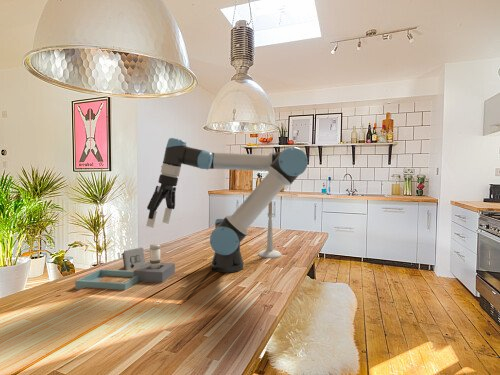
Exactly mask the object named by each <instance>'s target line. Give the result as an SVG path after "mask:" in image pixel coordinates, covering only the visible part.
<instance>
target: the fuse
mask: <svg viewBox="0 0 500 375" xmlns="http://www.w3.org/2000/svg"><path fill="white" fill-rule="evenodd" d="M149 262H150V269H160V263H161V244H160V243H153V244H150V245H149Z"/></svg>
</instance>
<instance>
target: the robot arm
mask: <svg viewBox="0 0 500 375" xmlns="http://www.w3.org/2000/svg"><path fill="white" fill-rule="evenodd" d="M166 143H167V144H166V147H165V151H164V155H163V161H162V164H161V170H160V175H159V177H158V181H157V182H158V183H159V184H160V185H156V186H155V190H154V192H153V193H152V196H151V199H150V201H149V202H148V205H147V206H146V208H147V210H148V211H149V213H148V217H147V221H146V227H149V228H153V229H154V226H155V222H156V217H157V213H158V211H157V210H158V208H159V206H160V205H161V203H162V202H163V200H164V199H165V203H166V204H165V205H166V207H165V209H164V214H163V217H162V223H163V224H169V223H170V219H171V214H172V210H175V207H176V190H177V188H176V187H177V185H178V182H179V178H178V177H179V176H180V172H181V167H182V165H185V166H190V167H193V168H198V169H201V170H207V171H208V170H229V171H230V170H232V171H236V170H237V171H257V172H261V171H262V172H268V173H267V174H266V175H265V177H263V179H262V180H261V181H260V183H258V185H257V186H255V188H254V189H253V190H252V191H251V193H250V194H249V195H248V196H247V197H246V198H245V199H244V201H243V202H242V203H241V204H240V205H239V206H238V208H237V209H236V210H235V211H234V212H233V214H231V215H226V216H225V217H224V218H216V219H215V222H214V227H215V228H214V229H213V230H212V232H211V234H210V237H209V244H210V247H211V249H212V250H213V251H214V254H213V257H212V259H211V262H210V263H211V264H210V266H211V270H212V271H214V272H219V273H233V272H234V273H235V272H239V271H241V270H243V269H244V268H245V267H244V266H245V264H244V260H243V256H242V253H241V242H242V241H243V240H244V239H245V238H246V237H247V235H248V229H249V228H250V227H251V225H252V224H253V223H254V222H255V221H256V219H257V218H259V216H260V215H261V214H262V212H264V210H265V209H266V208H268V207H269V203H270V202H271V201H272V202H273V200H274V199H275V198H276V197H277V195H278V194H279V193H280V192H281V191H282V190H283V189H284V187H286V186H291V185H292V184H293V182H294V181H295V180H296V179H297V178H298V177H299V176H300V175H302V174H303V173H305V171H306V169H307V167H308V160H309V159H308V156H307V154H306V153H305V151H304V150H303V149H301V148H299V147H296V146H290V147H286V148H284V149H283V150H282V151H279V152H270V153H269V154H263V153H262V154H257V153H256V154H255V153H233V152H231V153H230V152H229V153H228V152H227V153H226V152H210V151H207V150H205V149H204V150H203V149H198V148H194V147H190V146H187V142H186V141H185V140H182V139H179V138H174V137H171V138H168V140H167V142H166Z"/></svg>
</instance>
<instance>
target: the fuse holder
mask: <svg viewBox="0 0 500 375" xmlns="http://www.w3.org/2000/svg"><path fill="white" fill-rule="evenodd" d="M133 271H134V277H135V276H138V282H145V283H146V282H147V283H160V284H161V283H165V282H166V280H168V279H169V278H170V277H172V276H173V275H174V274H176V263H175V262H174V263H173V262H172V263H171V262H160V269H150V261H148V262H146V264H144V265H143V266H141V267H137V268H135V269H134V270H133Z"/></svg>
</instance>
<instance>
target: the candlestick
mask: <svg viewBox="0 0 500 375" xmlns="http://www.w3.org/2000/svg"><path fill="white" fill-rule="evenodd" d="M267 211H268V213H266V214H267V218H268V223H267V224H268V225H267V235H266V249H263V250H260V251H259V252H258V254H257V255H258V256H259V257H261V258H264V259H278V258H280V257H282V253H281V252H280V251H279V250H275V249H274V242H273V241H274V240H273V219H272V218H273V216H274V213H273V200H272V201H271V202H270V203H269V204H268V210H267Z"/></svg>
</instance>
